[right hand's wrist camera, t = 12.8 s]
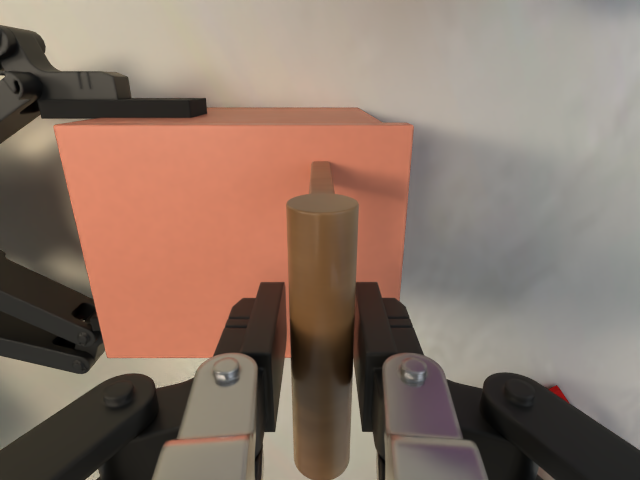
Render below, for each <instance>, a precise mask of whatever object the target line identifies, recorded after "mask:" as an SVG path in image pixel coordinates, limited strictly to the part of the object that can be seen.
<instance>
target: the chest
mask: <svg viewBox="0 0 640 480" xmlns="http://www.w3.org/2000/svg"><path fill="white" fill-rule="evenodd" d="M71 123H382V122H381V121H379V120H377V119H376V118H374V117H372V116H371V115H369V114H367V113H366V112H364V111H362V110H361V109H359V108H207V114H204V115H200V116H197V117H193V118H96V119H89V120H83V121H76V122H71Z"/></svg>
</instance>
